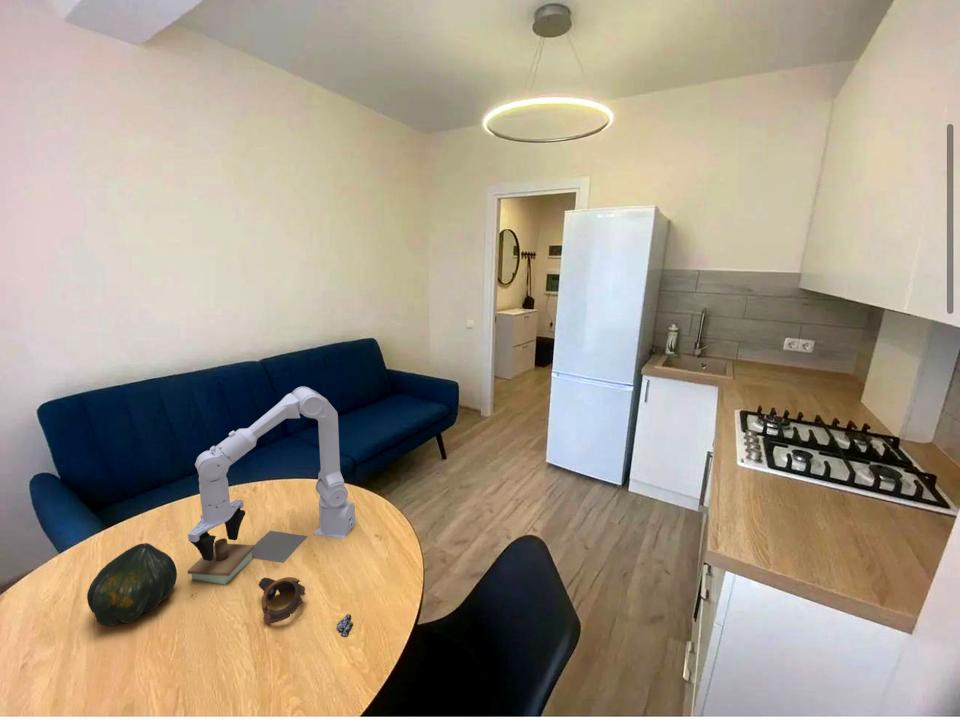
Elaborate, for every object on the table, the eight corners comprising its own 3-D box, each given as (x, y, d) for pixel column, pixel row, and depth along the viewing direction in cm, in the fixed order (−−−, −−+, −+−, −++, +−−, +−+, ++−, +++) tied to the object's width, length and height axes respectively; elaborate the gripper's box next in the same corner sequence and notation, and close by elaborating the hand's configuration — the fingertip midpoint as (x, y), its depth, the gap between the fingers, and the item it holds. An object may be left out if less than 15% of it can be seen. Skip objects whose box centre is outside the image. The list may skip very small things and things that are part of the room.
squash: (52, 622, 77) (106, 562, 77) (101, 570, 91) (147, 520, 92) (123, 651, 81) (174, 594, 82) (160, 598, 95) (203, 550, 96)
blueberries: (362, 611, 89) (362, 603, 89) (365, 639, 82) (365, 630, 81) (331, 619, 87) (330, 612, 86) (331, 649, 79) (330, 640, 79)
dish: (252, 560, 102) (251, 550, 102) (225, 586, 93) (224, 575, 93) (222, 555, 103) (220, 545, 103) (192, 581, 95) (190, 570, 94)
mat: (308, 537, 112) (308, 536, 112) (283, 564, 101) (283, 562, 101) (270, 531, 114) (270, 530, 114) (241, 557, 103) (241, 556, 103)
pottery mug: (318, 595, 93) (312, 582, 87) (289, 639, 86) (281, 628, 80) (276, 572, 95) (268, 559, 90) (245, 613, 88) (234, 601, 83)
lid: (254, 547, 103) (252, 530, 102) (228, 576, 93) (226, 556, 92) (217, 545, 103) (215, 528, 102) (187, 573, 93) (185, 554, 92)
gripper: (224, 482, 102) (229, 528, 105) (173, 514, 88) (180, 567, 91) (248, 485, 101) (253, 532, 104) (201, 518, 87) (207, 571, 90)
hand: (221, 548), depth 97 cm, fingers open, 7 cm apart
